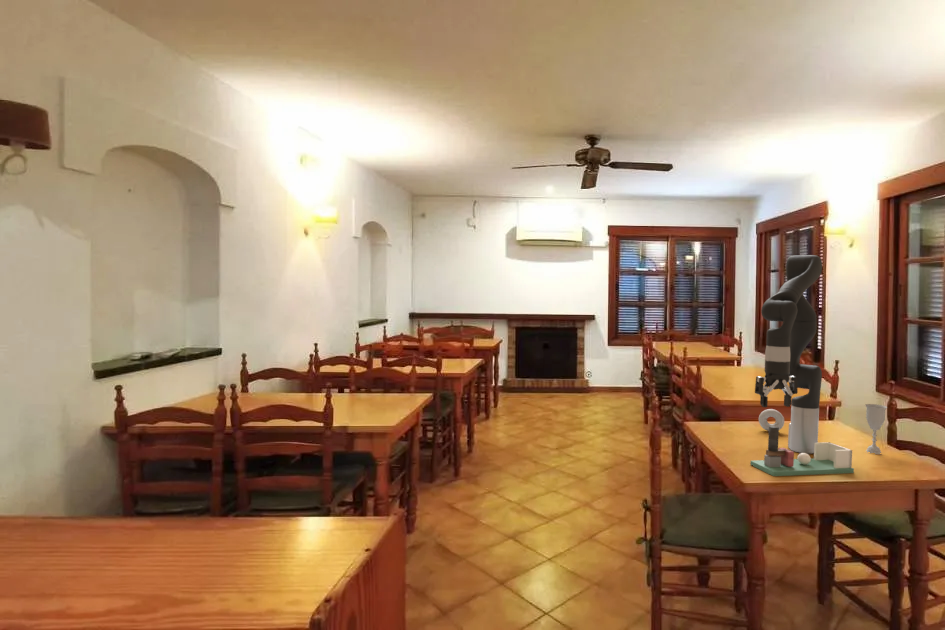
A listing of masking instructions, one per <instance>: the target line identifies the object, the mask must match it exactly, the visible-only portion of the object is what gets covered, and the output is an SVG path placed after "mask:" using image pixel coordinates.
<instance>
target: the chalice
mask: <svg viewBox="0 0 945 630" xmlns="http://www.w3.org/2000/svg"><path fill="white" fill-rule="evenodd" d="M864 406H865V407H866V410H865V412H866V414H865V418H866V422H867V424H868V426H869V428H870V430H872V434H871V436H872V439H871V441H872V443H871V445H869V446H868V447H866V450H865V452H866V451H867V452H866V453H868V452H870V453H869V454H871V453H875V454H874V455H881V454H880V453H882V451H881V449H880V447H879V446H877V444H876V443H877V441H878V440H877V436H878V434H877V431H880V429H881V428H882V426H883V425H884V423H885V420H886V410H887V409H888V406H886V405H882V404H877V403H876V404H875V403H865V405H864Z"/></svg>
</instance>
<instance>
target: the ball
mask: <svg viewBox="0 0 945 630" xmlns="http://www.w3.org/2000/svg"><path fill="white" fill-rule="evenodd" d="M796 459H798V461H799V463H801V464H803V465H807V464H809V463H810V461H811V456H810V454H807V453H800V452H799V454H798V455H797V458H796Z"/></svg>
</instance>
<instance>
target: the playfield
mask: <svg viewBox="0 0 945 630" xmlns="http://www.w3.org/2000/svg"><path fill="white" fill-rule="evenodd" d="M763 458H764V460H763V459H762V460H761V459H759V460H757V459H756V460H750V462H749V464H751V465H750V466H752V465H753V466H752V467H754V468H756V469H758V470H760V471H762V472H764V473H766V474H768V475H770V476H773V477H785V476H786V477H787V476H788V477H789V476H807V475H809V476H810V475H814V476H815V475H833V474H834V475H836V474H854V473H855V468H853V467H852V468H834V462H833V461H831V460H814V457H813V458H811V457H810V458H811V461H810V463H809V464H807V465H803V464H801V463H799V461H798V459H797V458H794V463H793V467H788V466H785V465H783V464H781V457H780V456H768V455H766V454H764V457H763Z"/></svg>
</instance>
